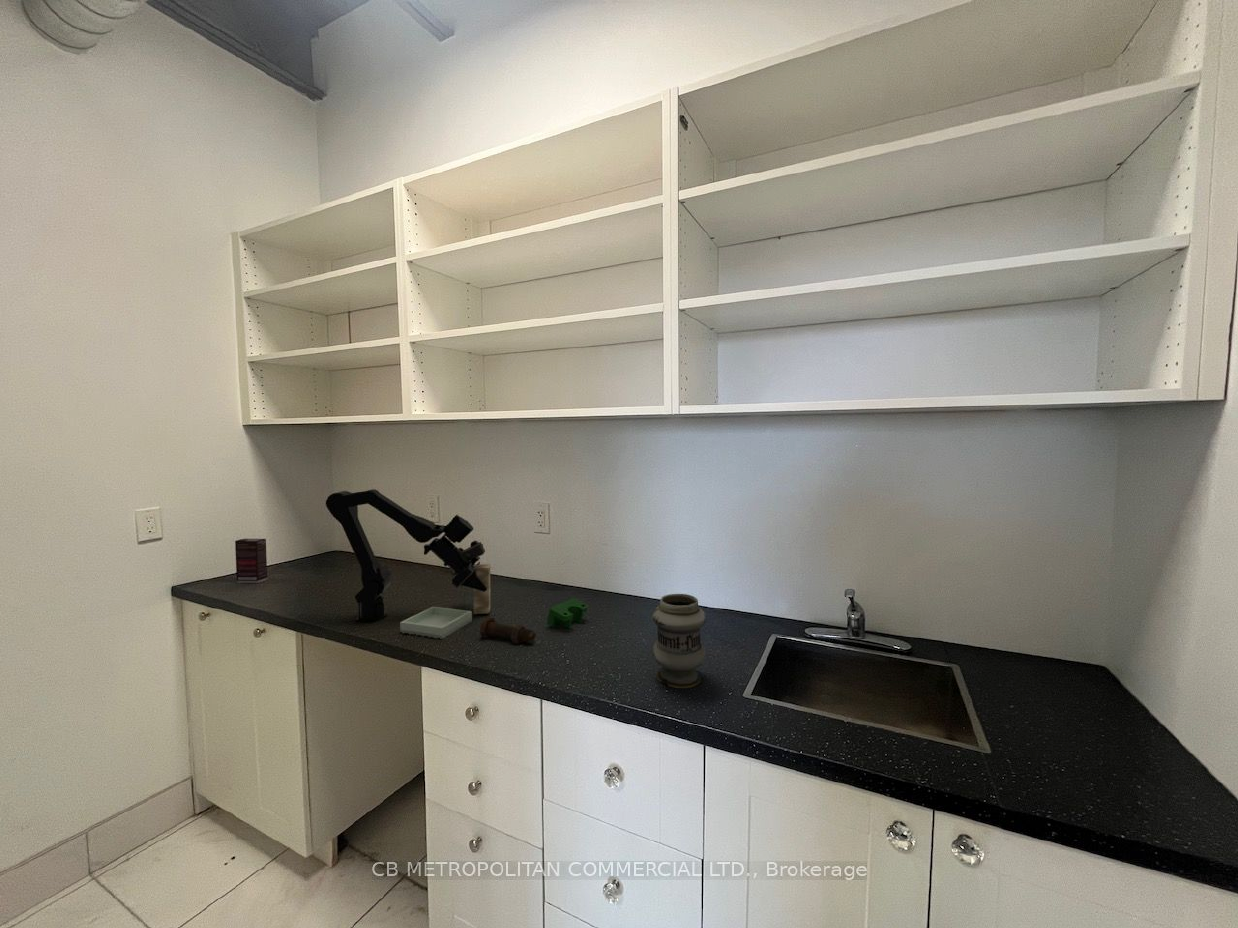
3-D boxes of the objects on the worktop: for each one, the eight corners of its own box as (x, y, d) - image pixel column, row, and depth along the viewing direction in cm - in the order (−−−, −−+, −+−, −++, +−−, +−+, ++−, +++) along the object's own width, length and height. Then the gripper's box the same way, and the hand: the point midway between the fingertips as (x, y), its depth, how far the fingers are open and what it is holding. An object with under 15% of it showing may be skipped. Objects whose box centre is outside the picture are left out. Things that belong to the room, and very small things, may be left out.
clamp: (564, 644, 138) (561, 621, 134) (548, 634, 141) (545, 612, 137) (590, 617, 147) (588, 595, 142) (575, 608, 150) (573, 586, 145)
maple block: (473, 613, 148) (473, 568, 147) (475, 608, 152) (475, 564, 151) (488, 613, 148) (488, 567, 148) (490, 608, 153) (490, 564, 152)
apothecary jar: (641, 678, 109) (641, 599, 109) (671, 660, 118) (672, 587, 118) (686, 697, 101) (687, 612, 101) (715, 676, 111) (717, 598, 110)
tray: (400, 632, 135) (400, 622, 135) (432, 616, 148) (432, 606, 148) (442, 639, 131) (442, 627, 130) (471, 621, 144) (471, 611, 143)
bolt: (531, 652, 127) (483, 641, 133) (540, 636, 131) (493, 626, 137) (526, 637, 124) (477, 627, 130) (535, 622, 128) (487, 612, 134)
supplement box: (268, 579, 185) (266, 538, 185) (258, 583, 180) (256, 540, 180) (246, 579, 186) (244, 538, 185) (235, 583, 181) (234, 540, 180)
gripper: (463, 540, 139) (503, 577, 141) (472, 529, 158) (507, 561, 160) (434, 568, 138) (475, 605, 141) (447, 553, 157) (483, 586, 159)
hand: (486, 588), depth 150 cm, fingers closed on maple block, 4 cm apart
